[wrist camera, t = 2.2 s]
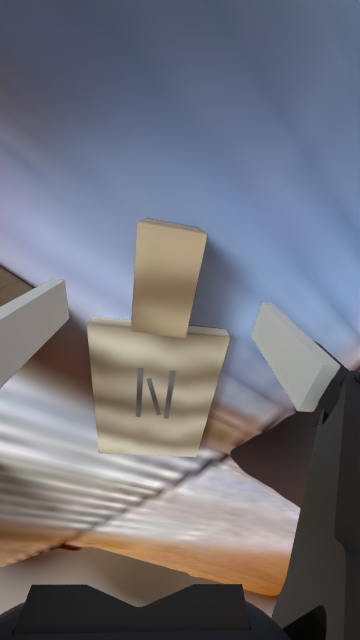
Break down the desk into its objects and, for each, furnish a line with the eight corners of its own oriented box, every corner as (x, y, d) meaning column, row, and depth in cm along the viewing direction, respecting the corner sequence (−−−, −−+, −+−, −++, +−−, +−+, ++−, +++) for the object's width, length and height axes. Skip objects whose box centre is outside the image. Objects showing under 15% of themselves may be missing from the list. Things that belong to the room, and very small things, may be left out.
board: (93, 316, 24) (86, 325, 22) (226, 329, 26) (230, 338, 24) (102, 440, 36) (98, 453, 34) (195, 445, 37) (196, 457, 35)
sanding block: (147, 218, 20) (137, 222, 14) (198, 227, 20) (207, 234, 15) (139, 304, 24) (130, 331, 19) (182, 310, 24) (185, 338, 19)
